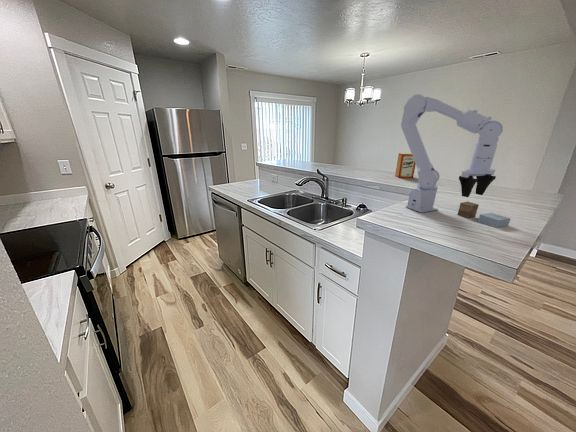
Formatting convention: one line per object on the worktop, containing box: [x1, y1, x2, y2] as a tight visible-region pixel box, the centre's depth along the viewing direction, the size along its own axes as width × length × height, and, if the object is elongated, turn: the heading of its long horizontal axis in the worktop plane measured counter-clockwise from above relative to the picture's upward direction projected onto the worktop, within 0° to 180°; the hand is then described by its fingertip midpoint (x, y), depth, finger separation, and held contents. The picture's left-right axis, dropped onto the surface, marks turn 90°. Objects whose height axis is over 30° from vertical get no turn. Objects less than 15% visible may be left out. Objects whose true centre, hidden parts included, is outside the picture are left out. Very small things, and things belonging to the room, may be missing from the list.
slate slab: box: [477, 212, 511, 229], centre depth 82 cm, size 6×6×3 cm
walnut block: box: [457, 201, 480, 219], centre depth 89 cm, size 4×4×5 cm
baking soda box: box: [394, 152, 416, 179], centre depth 159 cm, size 10×6×16 cm
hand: (472, 195), depth 87 cm, fingers open, 7 cm apart
